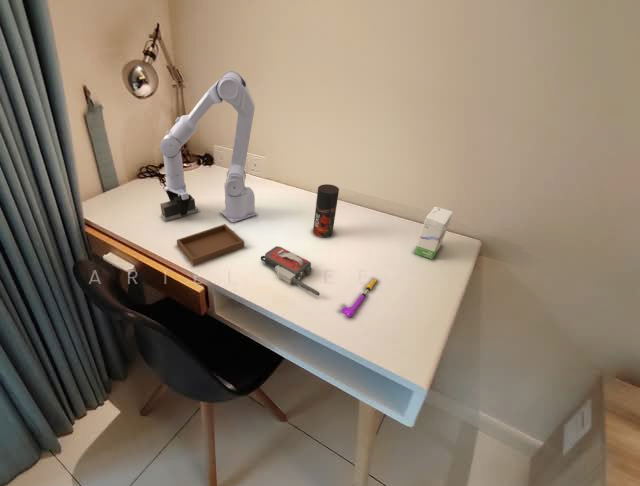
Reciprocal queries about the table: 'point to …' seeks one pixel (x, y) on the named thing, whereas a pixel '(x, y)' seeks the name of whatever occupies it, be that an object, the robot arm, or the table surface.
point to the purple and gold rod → (352, 309)
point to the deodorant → (325, 210)
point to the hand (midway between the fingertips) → (179, 209)
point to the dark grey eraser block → (176, 209)
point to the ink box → (433, 232)
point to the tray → (210, 244)
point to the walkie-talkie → (288, 266)
